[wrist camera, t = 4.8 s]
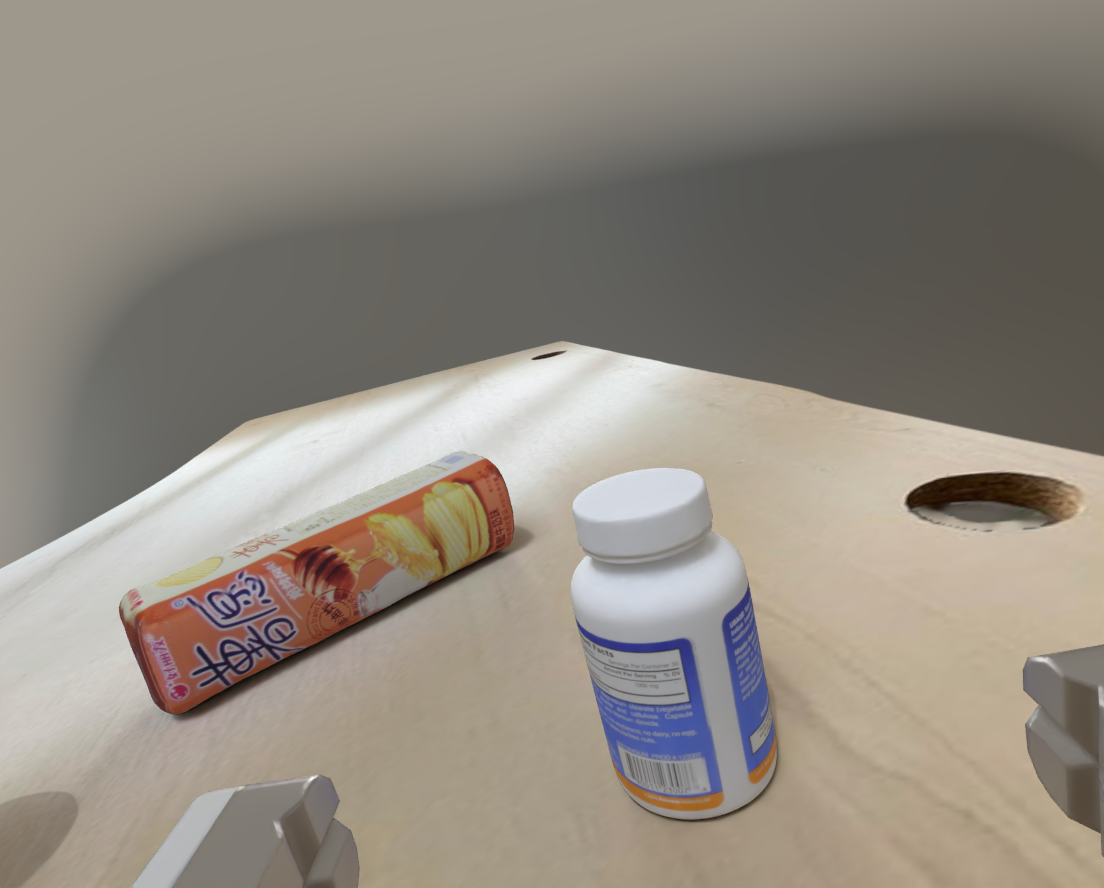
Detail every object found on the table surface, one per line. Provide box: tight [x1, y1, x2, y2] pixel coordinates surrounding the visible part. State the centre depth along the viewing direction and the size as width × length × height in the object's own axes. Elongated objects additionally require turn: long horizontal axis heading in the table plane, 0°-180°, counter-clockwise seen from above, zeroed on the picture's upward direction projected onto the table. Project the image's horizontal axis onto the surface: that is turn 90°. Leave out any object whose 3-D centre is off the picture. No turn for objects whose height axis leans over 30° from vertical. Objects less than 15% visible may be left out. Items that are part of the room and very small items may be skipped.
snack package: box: [119, 451, 514, 714], centre depth 38 cm, size 21×7×7 cm, turn 128°
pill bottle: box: [571, 468, 777, 819], centre depth 21 cm, size 5×5×10 cm
